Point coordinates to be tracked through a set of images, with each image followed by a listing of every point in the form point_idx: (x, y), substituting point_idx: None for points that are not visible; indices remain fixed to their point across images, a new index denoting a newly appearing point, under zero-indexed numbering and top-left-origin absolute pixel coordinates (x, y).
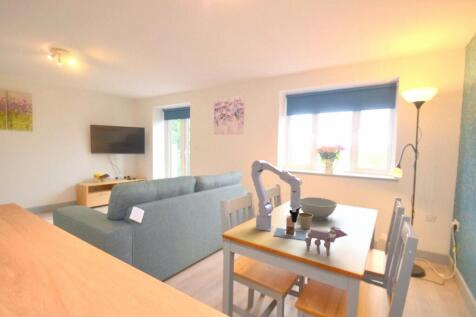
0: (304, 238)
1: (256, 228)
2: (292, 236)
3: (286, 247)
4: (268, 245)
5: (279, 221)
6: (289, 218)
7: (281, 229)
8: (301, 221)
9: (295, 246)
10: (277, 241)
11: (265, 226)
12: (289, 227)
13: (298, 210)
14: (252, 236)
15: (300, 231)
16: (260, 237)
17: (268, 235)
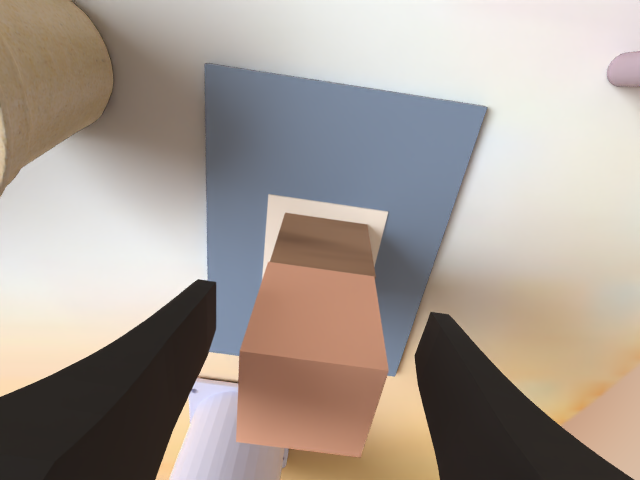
0: (442, 112)
1: (282, 465)
2: (397, 237)
3: (629, 293)
4: (570, 399)
5: (13, 325)
6: (370, 423)
7: (236, 320)
8: (48, 144)
9: (623, 220)
10: (499, 349)
11: (282, 448)
12: None
13: (127, 407)
14: (414, 471)
15: (228, 141)
16: (427, 437)
17: (383, 399)
